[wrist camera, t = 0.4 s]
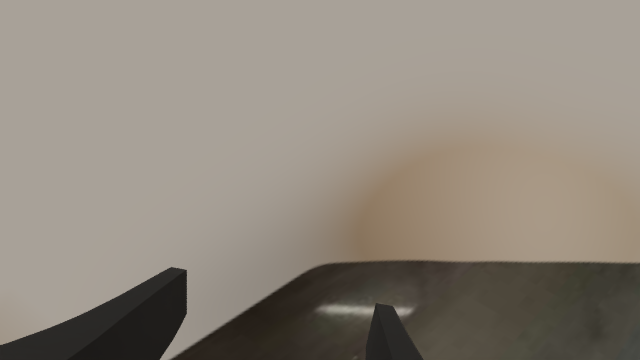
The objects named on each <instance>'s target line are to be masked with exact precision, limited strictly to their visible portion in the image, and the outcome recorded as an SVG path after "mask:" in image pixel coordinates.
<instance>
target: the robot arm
mask: <svg viewBox="0 0 640 360" xmlns="http://www.w3.org/2000/svg"><path fill="white" fill-rule="evenodd" d="M186 314H187V270H184V269H179V268H173V267H171V268H169V269H167V270H165V271H163V272H161V273H159V274H158V275H156V276H154V277H152V278H150V279H149V280H147V281H145V282H143V283H141V284H140V285H138V286H136V287H134V288H132V289H131V290H129V291H127V292H125V293H123V294H122V295H120V296H118V297H116V298H114V299H112V300H110V301H108V302H106V303H104V304H102V305H100V306H98V307H96V308H94V309H92V310H90V311H88V312H86V313H84V314H81V315H79V316H77V317H75V318H72V319H70V320H67V321H65V322H63V323H60V324H58V325H56V326H53V327H51V328H48V329H45V330H43V331H40V332H37V333H34V334H32V335H29V336H26V337H23V338H20V339H18V340H15V341H12V342H9V343H6V344H3V345H0V360H160V358H161V356H162V355H163V354H164V352H165V351H166V349H167V348H168V346H169V345H170V343H171V342H172V340H173V339H174V337H175V335H176V333H177V331H178V330H179V328H180V326H181V324H182V322H183V320H184V318H185V316H186ZM366 360H423V358H422V357H421V355H420V353H419V352H418V350H417V348H416V347H415V345H414V343H413V342H412V340H411V338H410V337H409V335H408V333H407V331H406V330H405V328H404V326H403V324H402V322H401V320H400V318H399V316H398V315H397V313H396V311H395V309H394V307H393V306H389V305H384V304H378V303H376V305H375V309H374V314H373V318H372V323H371V327H370V331H369V336H368V340H367V345H366Z"/></svg>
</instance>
